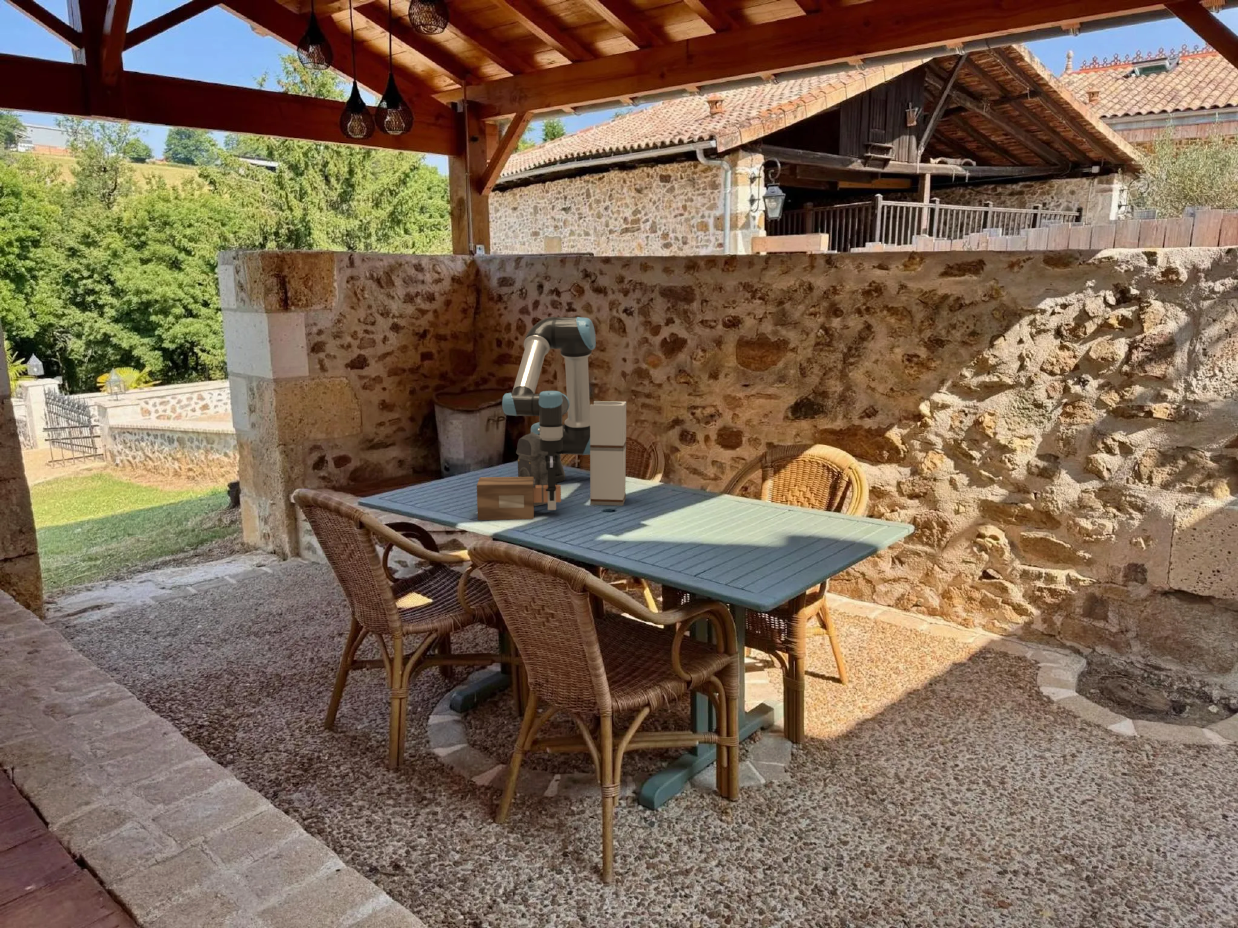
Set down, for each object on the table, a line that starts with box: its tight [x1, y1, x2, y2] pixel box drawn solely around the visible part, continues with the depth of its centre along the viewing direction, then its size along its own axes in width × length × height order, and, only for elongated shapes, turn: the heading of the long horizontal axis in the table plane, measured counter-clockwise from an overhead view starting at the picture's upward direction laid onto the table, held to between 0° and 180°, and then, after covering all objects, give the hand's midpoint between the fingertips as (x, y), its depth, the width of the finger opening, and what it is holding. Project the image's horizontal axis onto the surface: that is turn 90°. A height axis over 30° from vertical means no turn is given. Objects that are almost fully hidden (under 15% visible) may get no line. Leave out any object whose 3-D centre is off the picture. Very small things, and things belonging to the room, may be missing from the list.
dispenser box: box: [476, 476, 535, 521], centre depth 272 cm, size 12×19×12 cm, turn 95°
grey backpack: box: [515, 431, 548, 507], centre depth 288 cm, size 10×14×25 cm
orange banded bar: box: [533, 484, 562, 503], centre depth 272 cm, size 4×25×5 cm, turn 95°
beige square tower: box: [589, 400, 627, 507], centre depth 288 cm, size 11×11×35 cm
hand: (551, 507), depth 274 cm, fingers closed on orange banded bar, 4 cm apart
